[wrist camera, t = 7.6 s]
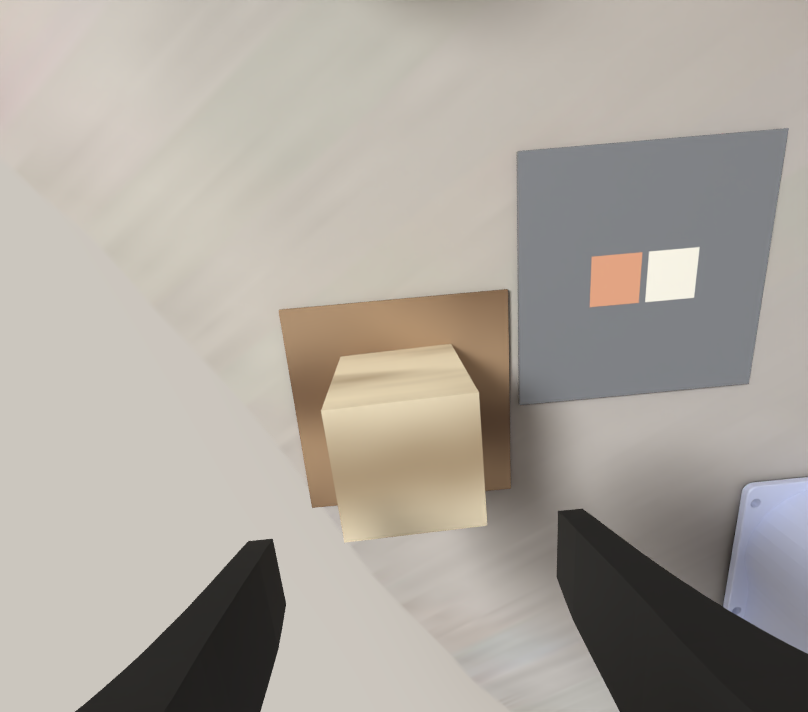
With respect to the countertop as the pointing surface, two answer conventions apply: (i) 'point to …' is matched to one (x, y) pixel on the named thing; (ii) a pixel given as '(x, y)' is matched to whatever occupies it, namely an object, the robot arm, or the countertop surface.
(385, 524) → the maple block
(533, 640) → the countertop surface
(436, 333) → the pad
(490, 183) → the countertop surface
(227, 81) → the countertop surface
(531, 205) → the mat
